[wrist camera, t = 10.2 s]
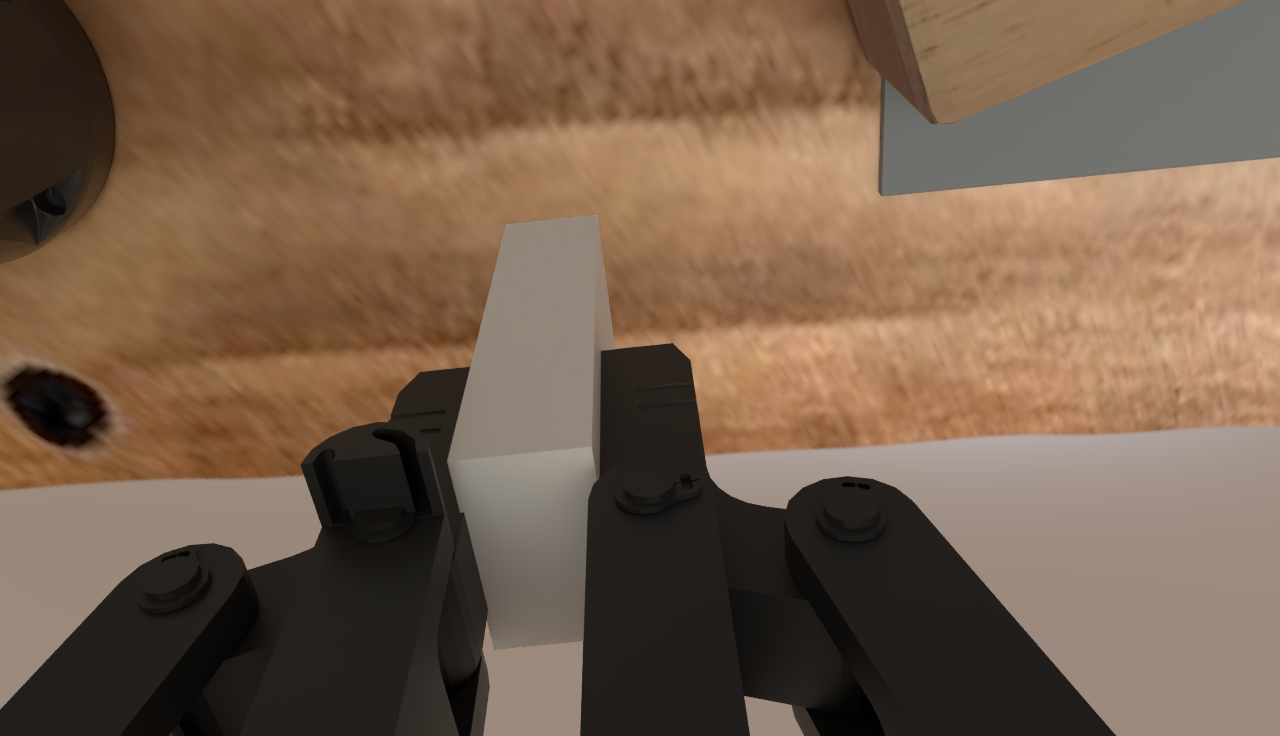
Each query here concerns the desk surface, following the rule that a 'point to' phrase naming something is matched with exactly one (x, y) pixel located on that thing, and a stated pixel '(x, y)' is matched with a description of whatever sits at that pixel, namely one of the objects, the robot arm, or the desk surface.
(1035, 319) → the desk surface
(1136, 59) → the mat
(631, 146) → the desk surface
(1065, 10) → the block
